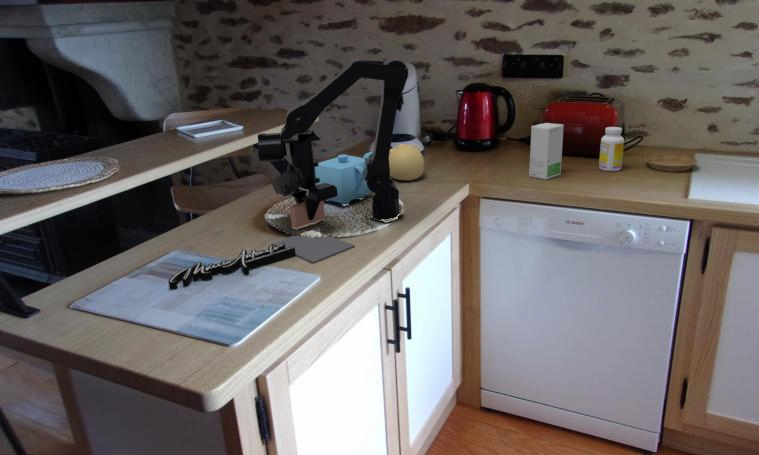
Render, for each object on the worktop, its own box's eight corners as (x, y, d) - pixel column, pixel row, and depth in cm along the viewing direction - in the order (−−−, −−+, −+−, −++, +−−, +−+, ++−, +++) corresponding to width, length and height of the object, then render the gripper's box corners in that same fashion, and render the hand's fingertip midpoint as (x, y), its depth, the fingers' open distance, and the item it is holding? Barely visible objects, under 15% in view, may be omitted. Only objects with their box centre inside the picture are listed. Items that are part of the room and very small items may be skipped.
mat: (312, 230, 144) (311, 228, 144) (354, 246, 133) (354, 245, 133) (271, 245, 136) (271, 243, 136) (313, 263, 125) (313, 262, 125)
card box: (320, 218, 151) (318, 197, 149) (325, 220, 150) (323, 198, 148) (291, 228, 146) (289, 206, 144) (296, 230, 144) (294, 207, 142)
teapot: (349, 211, 156) (346, 164, 152) (311, 200, 166) (307, 156, 162) (393, 193, 168) (392, 150, 164) (355, 184, 178) (353, 143, 174)
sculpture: (416, 171, 189) (415, 138, 186) (430, 180, 179) (429, 146, 175) (382, 175, 186) (381, 142, 182) (394, 185, 176) (393, 150, 172)
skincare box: (545, 180, 173) (549, 128, 168) (527, 176, 178) (529, 126, 172) (561, 174, 178) (565, 124, 173) (543, 170, 183) (546, 121, 178)
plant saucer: (645, 173, 177) (646, 164, 176) (641, 160, 190) (642, 152, 189) (700, 175, 172) (701, 166, 171) (692, 162, 185) (693, 154, 184)
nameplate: (175, 289, 113) (160, 273, 121) (176, 296, 114) (162, 279, 121) (300, 250, 127) (280, 238, 135) (301, 257, 128) (281, 244, 136)
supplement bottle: (622, 167, 183) (626, 126, 178) (619, 172, 177) (624, 131, 173) (600, 165, 186) (603, 125, 181) (596, 171, 180) (600, 129, 176)
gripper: (253, 159, 143) (260, 219, 149) (298, 172, 130) (304, 237, 136) (290, 151, 150) (296, 208, 156) (336, 162, 137) (341, 224, 143)
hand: (308, 218), depth 147 cm, fingers closed on card box, 2 cm apart
